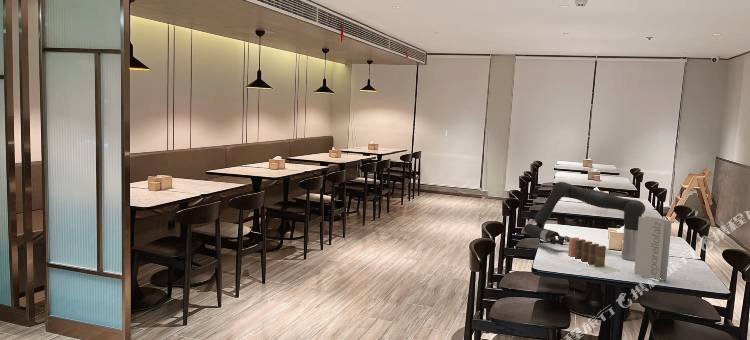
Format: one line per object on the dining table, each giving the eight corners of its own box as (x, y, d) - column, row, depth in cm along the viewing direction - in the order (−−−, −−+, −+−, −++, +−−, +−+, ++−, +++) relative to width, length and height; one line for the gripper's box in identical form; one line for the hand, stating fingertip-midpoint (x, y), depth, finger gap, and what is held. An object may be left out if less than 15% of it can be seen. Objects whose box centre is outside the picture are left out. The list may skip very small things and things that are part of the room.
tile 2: (574, 259, 313) (575, 239, 312) (581, 258, 315) (583, 239, 314) (577, 260, 311) (578, 240, 310) (584, 259, 313) (585, 240, 312)
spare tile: (568, 256, 318) (569, 237, 317) (575, 256, 320) (576, 237, 319) (570, 257, 316) (572, 238, 315) (577, 257, 318) (579, 237, 317)
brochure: (634, 274, 289) (638, 216, 286) (641, 273, 291) (646, 215, 288) (659, 282, 276) (664, 221, 273) (666, 280, 279) (671, 221, 276)
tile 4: (587, 263, 304) (589, 243, 303) (594, 263, 306) (596, 243, 305) (590, 264, 302) (591, 244, 301) (597, 264, 304) (599, 244, 303)
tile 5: (594, 266, 299) (595, 246, 298) (601, 265, 301) (603, 245, 300) (597, 267, 298) (598, 247, 296) (604, 266, 300) (606, 246, 298)
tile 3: (580, 261, 309) (582, 241, 307) (588, 260, 311) (589, 241, 309) (583, 262, 307) (585, 242, 306) (590, 261, 309) (592, 242, 308)
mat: (558, 255, 321) (558, 255, 321) (573, 254, 326) (573, 253, 325) (605, 273, 288) (605, 272, 288) (621, 271, 292) (622, 270, 292)
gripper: (540, 230, 332) (559, 237, 318) (559, 229, 338) (579, 235, 323) (539, 243, 333) (558, 250, 318) (558, 241, 339) (578, 248, 324)
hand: (568, 242), depth 321 cm, fingers open, 8 cm apart
